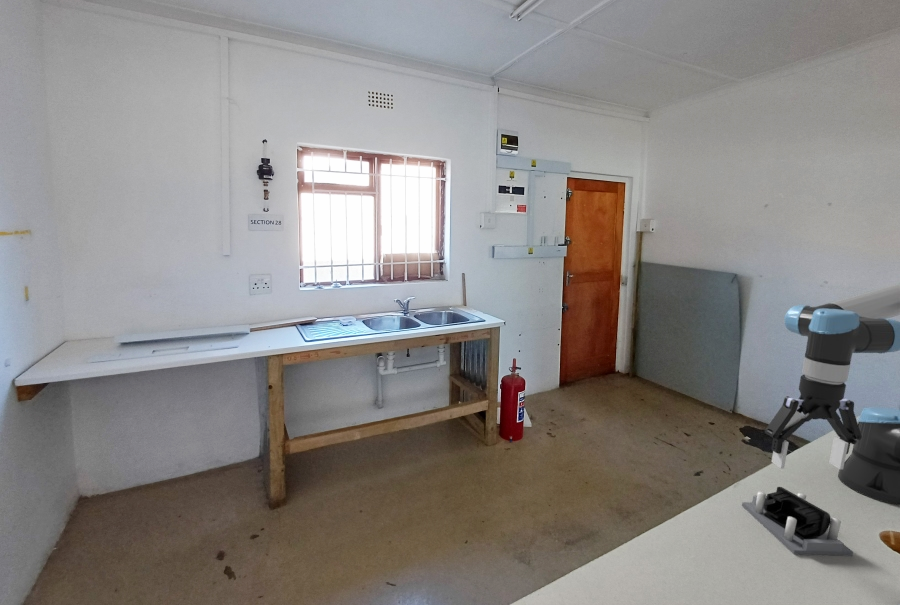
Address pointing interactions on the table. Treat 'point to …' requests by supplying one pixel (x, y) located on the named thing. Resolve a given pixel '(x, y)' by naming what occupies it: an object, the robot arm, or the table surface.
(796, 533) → the end cap
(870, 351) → the robot arm
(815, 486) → the table surface
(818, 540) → the tray
